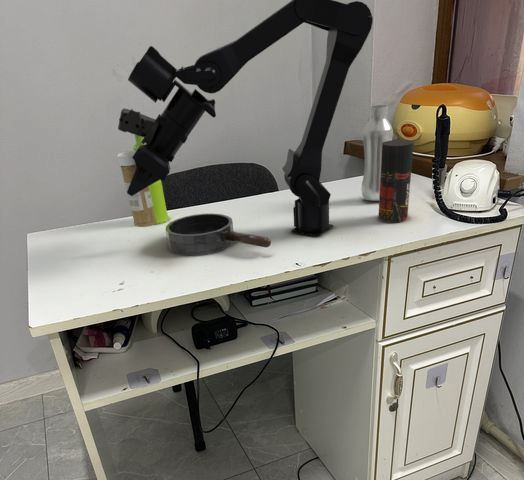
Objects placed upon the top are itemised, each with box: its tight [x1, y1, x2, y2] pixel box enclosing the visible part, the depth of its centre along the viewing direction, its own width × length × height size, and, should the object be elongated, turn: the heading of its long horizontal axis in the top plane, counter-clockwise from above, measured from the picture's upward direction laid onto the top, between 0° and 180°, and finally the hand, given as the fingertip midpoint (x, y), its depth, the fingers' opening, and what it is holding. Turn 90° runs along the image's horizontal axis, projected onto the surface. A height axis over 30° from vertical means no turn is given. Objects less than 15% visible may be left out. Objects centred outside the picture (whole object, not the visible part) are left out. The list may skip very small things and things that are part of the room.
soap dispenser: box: [130, 133, 169, 225], centre depth 110 cm, size 6×7×20 cm
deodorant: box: [377, 139, 415, 224], centre depth 99 cm, size 6×6×15 cm
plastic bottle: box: [360, 104, 394, 202], centre depth 110 cm, size 6×7×20 cm
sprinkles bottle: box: [117, 150, 157, 228], centre depth 93 cm, size 5×5×13 cm
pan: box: [165, 213, 235, 256], centre depth 98 cm, size 13×13×4 cm
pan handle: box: [221, 229, 272, 248], centre depth 92 cm, size 11×2×2 cm, turn 54°
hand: (130, 191), depth 93 cm, fingers closed on sprinkles bottle, 4 cm apart
